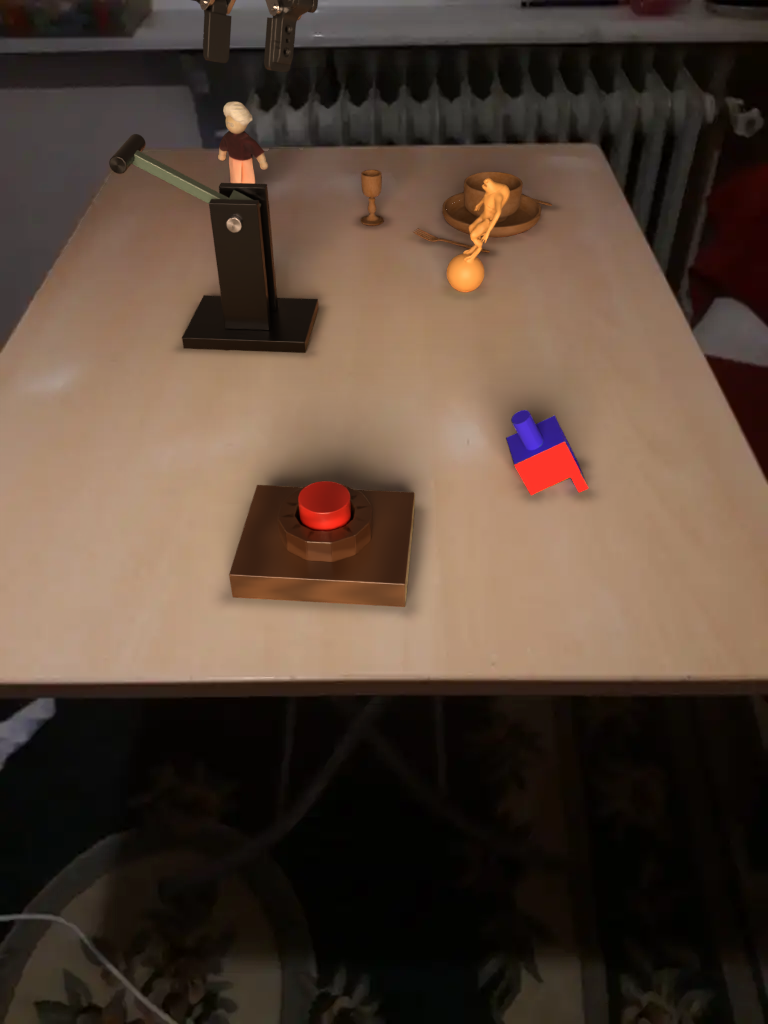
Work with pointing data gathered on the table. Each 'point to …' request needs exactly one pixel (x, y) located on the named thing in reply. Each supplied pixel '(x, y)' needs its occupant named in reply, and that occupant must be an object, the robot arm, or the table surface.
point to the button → (324, 506)
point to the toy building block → (543, 453)
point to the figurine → (478, 239)
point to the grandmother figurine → (240, 145)
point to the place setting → (469, 205)
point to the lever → (163, 171)
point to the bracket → (248, 284)
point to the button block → (325, 550)
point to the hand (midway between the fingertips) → (245, 66)
